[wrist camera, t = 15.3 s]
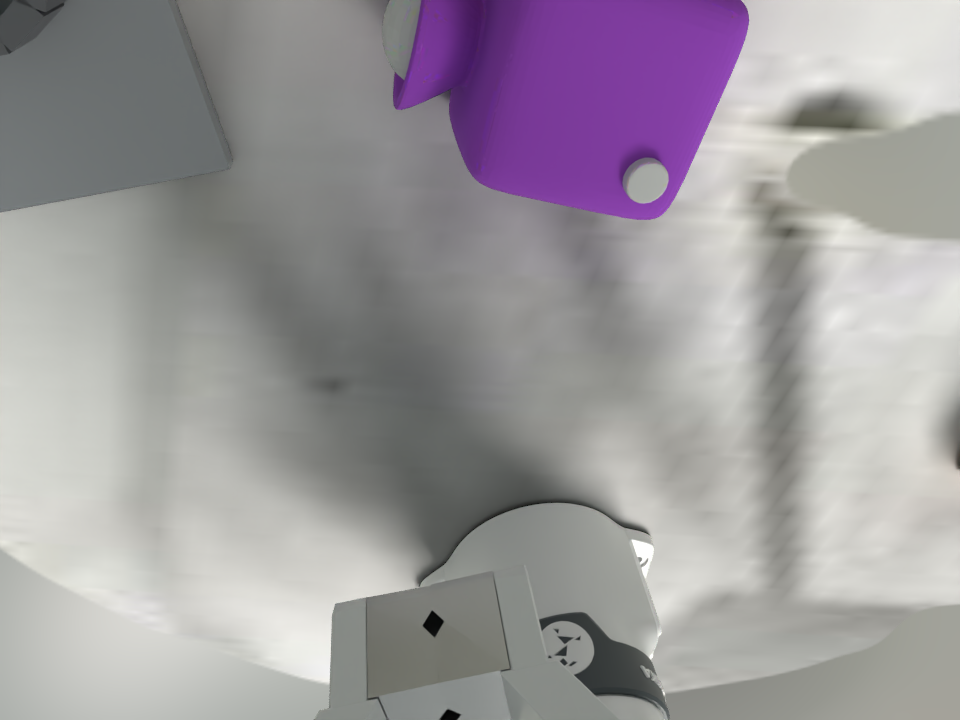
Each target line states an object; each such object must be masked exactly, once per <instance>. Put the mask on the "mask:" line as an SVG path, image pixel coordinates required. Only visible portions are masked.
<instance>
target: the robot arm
mask: <svg viewBox="0 0 960 720" xmlns="http://www.w3.org/2000/svg"><path fill="white" fill-rule="evenodd" d="M653 553H654V545H653V542H652V538H651V536H650V535H648V534H646V533H644V532H640V531H637V530H632V529H627V528H623V527H621V526H620V525H618V524H616V523H615V522H614V521H613V520H611V519H610V518H609V517H607V516H606V515H604V514H603V513H601V512H599V511H596V510H594V509H591V508H589V507H585V506H581V505H576V504H569V503H544V504H536V505H530V506H525V507H521V508H518V509H514V510H511V511H508V512H506V513H503V514H501V515H498V516H496V517H494V518H492V519H490V520H488V521H487V522H485V523H483V524H482V525H480V526H479V527H477V528H476V529H474V530H473V531H472V532H471V533H470V534H468V535H467V536H466V537H465V538H464V539H463V540H462V541H461V543H460V544H459V545H458V546H457V548H456V549H455V551H454V552H453V554H452V555H451V557H450V558H449V560H448V561H447V562H446V563H445V564H444V565H443V566H442V567H440V568H439V569H437V570H436V571H434V572H433V573H432V574H430V575H429V576H428V577H426V578H425V579H424V580H423V581H422V583H421V585H420V588H415V589H410V590H405V591H399V592H394V593H389V594H383V595H378V596H373V597H366V598H361V599H356V600H351V601H347V602H342V603H337V604H335V607H334V610H333V614H332V634H331V664H330V694H329V708H328V709H324V710H320V711H319V712H318V714H317V716H316V717H315V719H314V720H670V715H669V711H668V708H667V705H666V699H665V693H664V690H663V687H662V684H661V682H660V680H659V679H658V677H657V675H656V672H655V669H654V666H653V664H652V662H651V660H650V659H652V657H653V651H654V650H655V648H656V645H657V641H658V636H660V635H661V626H660V622H659V619H658V616H657V613H656V610H655V607H654V604H653V601H652V598H651V595H650V592H649V589H648V586H647V583H646V576H647V573H648V570H649V567H650V563H651V560H652V557H653Z"/></svg>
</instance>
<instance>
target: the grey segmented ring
mask: <svg viewBox="0 0 960 720" xmlns="http://www.w3.org/2000/svg"><path fill="white" fill-rule="evenodd" d="M65 1H67V0H14V1H13V2H12V3H11V4H10V6H9V7H8V8H7V9H6V10H5V11H4V13H3V14H2V15H1V16H0V56H2V55H7V54H10V53H11V52H14V51H15V50H17V49H18V48H20V47H22V46H23V45H25V44H27V43H28V42H30V41H31V40H33V39H35V38H36V37H37V36H38V35H39V33H40V32H41V31H42V30H43V29H44V28H45V27H46V26H47V24H48V23H49V22H50V21H51V20H52V19H53V18H54V17H55V15H56V14H57V13H58V12H59V11H60V10H61V9H62V8H63V6H64V5H65V4H63V2H65Z"/></svg>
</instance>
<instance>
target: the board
mask: <svg viewBox="0 0 960 720" xmlns="http://www.w3.org/2000/svg"><path fill="white" fill-rule="evenodd" d="M13 1H14V0H0V16H1V15H2V14H3V13H4V11H5V10H6V9H7V8H8V7H9V6H10V4H11V3H12V2H13ZM63 4H65V5H64V6H63V8H62V9H61V10H60V11H59V12H58V13H57V14H56V15H55V17H54V18H53V19H52V20H51V21H50V22H49V23H48V24H47V26H46V27H45V28H44V29H43V30H42V31H41V32H40V33H39V35H38V36H37V37H36V38H35V39H33V40H31V41H30V42H28V43H27V44H25V45H23V46H22V47H20V48H18V49H17V50H15V51H14V52H11V53H10V54H7V55H2V56H0V212H5V211H10V210H16V209H21V208H26V207H32V206H37V205H42V204H48V203H53V202H58V201H64V200H69V199H74V198H80V197H85V196H90V195H96V194H101V193H106V192H111V191H117V190H122V189H127V188H133V187H138V186H143V185H149V184H154V183H159V182H165V181H170V180H175V179H181V178H186V177H191V176H197V175H202V174H207V173H213V172H218V171H223V170H229V169H230V167H231V165H232V162H233V158H232V156H231V153H230V150H229V147H228V145H227V142H226V139H225V136H224V133H223V131H222V128H221V125H220V122H219V120H218V117H217V114H216V111H215V108H214V106H213V103H212V100H211V97H210V94H209V92H208V89H207V86H206V83H205V81H204V78H203V75H202V72H201V69H200V67H199V64H198V61H197V58H196V56H195V53H194V50H193V47H192V44H191V42H190V39H189V36H188V33H187V31H186V28H185V25H184V22H183V19H182V17H181V14H180V11H179V8H178V5H177V3H176V0H67V1H65V2H63Z"/></svg>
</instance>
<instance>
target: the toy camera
mask: <svg viewBox="0 0 960 720" xmlns="http://www.w3.org/2000/svg"><path fill="white" fill-rule="evenodd" d="M748 25H749V15H748V11H747V8H746V6H745V5H744V4H743V2H742V1H741V0H389V3H388V5H387V7H386V11H385V15H384V19H383V27H382V39H383V46H384V50H385V54H386V57H387V59H388V61H389V63H390V65H391V67H392V68H393V69H394V71H395V76H394V89H393V101H394V106H395V108H396V109H397V110H402V109H406V108H409V107H412V106H415V105H417V104H419V103H422V102H424V101H427V100H429V99H431V98H433V97H435V96H437V95H439V94H441V93H443V92H445V91H447V90H449V89H451V94H450V103H449V114H450V120H451V124H452V128H453V132H454V135H455V138H456V141H457V144H458V147H459V149H460V152H461V155H462V157H463V160H464V162H465V164H466V166H467V168H468V170H469V172H470V173H471V175H472V176H473V177H474V178H475V179H476V180H477V181H478V182H479V183H481V184H483V185H485V186H487V187H489V188H491V189H495V190H498V191H502V192H505V193H509V194H513V195H518V196H522V197H527V198H532V199H536V200H541V201H546V202H550V203H555V204H560V205H564V206H569V207H574V208H578V209H583V210H588V211H592V212H597V213H602V214H607V215H613V216H618V217H623V218H629V219H637V220H650V219H654V218H657V217H659V216H661V215H662V214H663V213H664V212H665V211H666V210H667V209H668V208H669V206H670V205H671V203H672V202H673V200H674V198H675V197H676V195H677V193H678V191H679V189H680V187H681V185H682V183H683V181H684V179H685V176H686V174H687V172H688V170H689V167H690V165H691V163H692V161H693V159H694V156H695V154H696V152H697V150H698V147H699V145H700V143H701V141H702V138H703V136H704V134H705V132H706V129H707V127H708V125H709V123H710V120H711V118H712V116H713V114H714V112H715V109H716V107H717V105H718V103H719V100H720V98H721V96H722V94H723V91H724V89H725V87H726V85H727V82H728V80H729V78H730V76H731V73H732V71H733V69H734V66H735V64H736V62H737V59H738V57H739V54H740V52H741V49H742V46H743V44H744V41H745V37H746V34H747V30H748Z"/></svg>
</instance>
